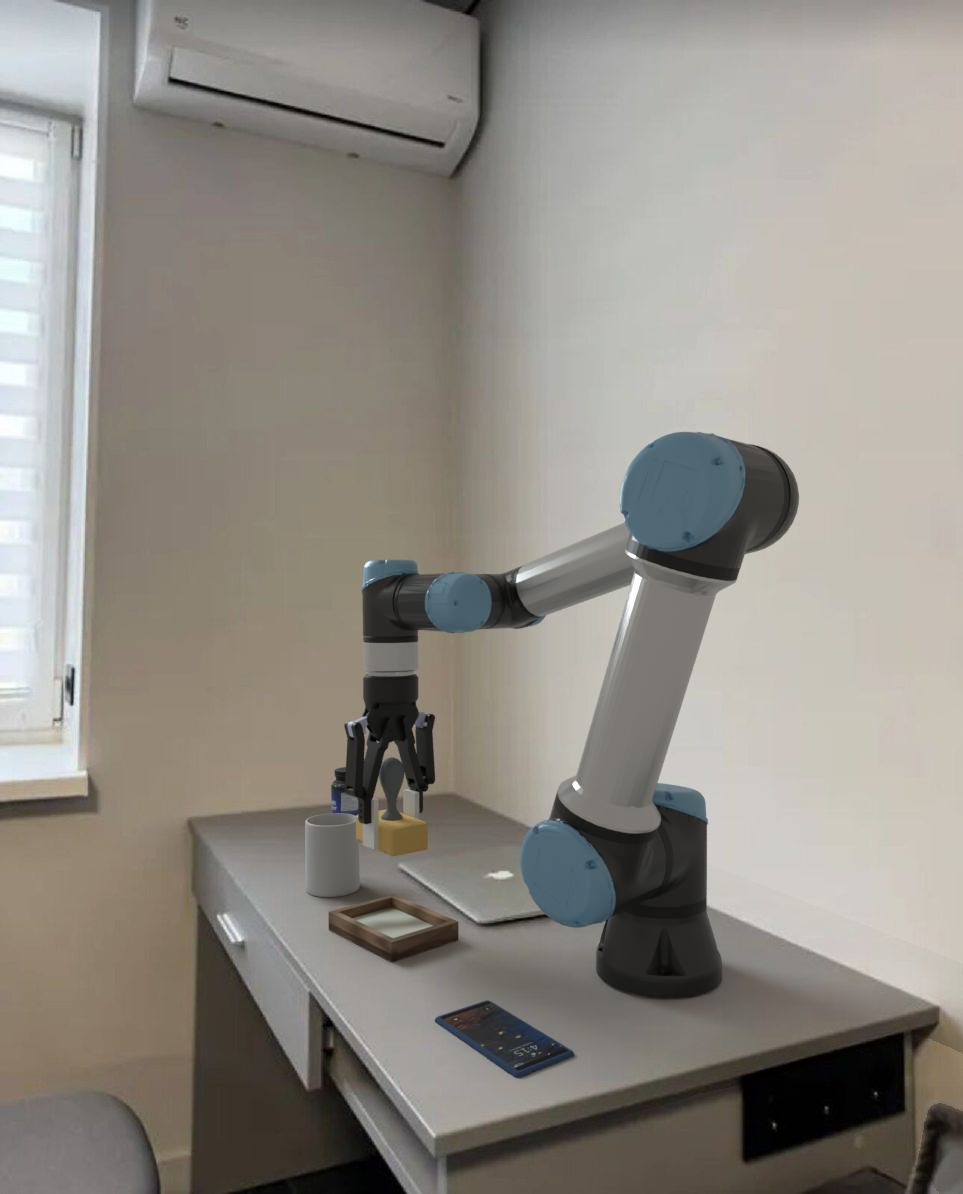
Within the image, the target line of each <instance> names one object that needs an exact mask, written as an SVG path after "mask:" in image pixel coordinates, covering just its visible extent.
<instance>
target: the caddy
mask: <svg viewBox="0 0 963 1194" xmlns="http://www.w3.org/2000/svg"><path fill="white" fill-rule="evenodd" d="M328 931H331V932H332V933H334V934H337V935H339V936H340V937H342V938H344V939H346V940H348V941H349V942H352V943H353V944H355V945H356V946H360V947H362V948H363V949H365V950H368V951H369V952H371V953H373V954H374V955H377V956H379V957H380V958H382V959H384V960H386V961H388V962H391V963H394V962H396V961H399V960H402V959H405V958H408V957H412V956H414V955H417V954H420V953H423V952H427V951H429V950H433V949H435V948H440V947H442V946H445V945H448V944H452V943H454V942H457V941H459V935H460V934H459V921H458V920H455V919H454V918H452V917H451V918H450V917H448V916H446V915H444V914H441V913H439V912H437V911H434V910H432V909H429V908H427V907H424V906H422V905H420V904H418V903H415V902H413V901H411V900H409V899H405V898H404V897H400V896H399V895H396V894H394V893H393V894H389V895H386V896H382V897H379V898H373V899H369V900H367V901H363V902H360V903H356V904H352V905H351V904H350V905H348V906H345V907H344V906H343V907H341V908H336V909H333V910H330V911H328Z"/></svg>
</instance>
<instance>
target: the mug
mask: <svg viewBox="0 0 963 1194" xmlns="http://www.w3.org/2000/svg"><path fill="white" fill-rule="evenodd" d="M304 839H305V840H304V842H305V845H304V847H305V849H304V851H305V852H304V853H305V854H304V855H305V859H304V860H305V864H304V865H305V867H304V868H305V869H304V870H305V874H304V875H305V878H304V881H305V882H304V883H305V884H304V885H305V891H306V893H307V894H309V895H311V896H314V897H320V898H338V897H344V896H348V895H351V894H354V893H355V892H357V891H359V889H360V885H361V877H360V876H361V875H360V873H361V872H360V842H359V841H357V840H356V816H355V815H351V814H343V813H322V814H318V815H317V814H316V815H312V816H310V817H308V818H307V819H305V822H304Z"/></svg>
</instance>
